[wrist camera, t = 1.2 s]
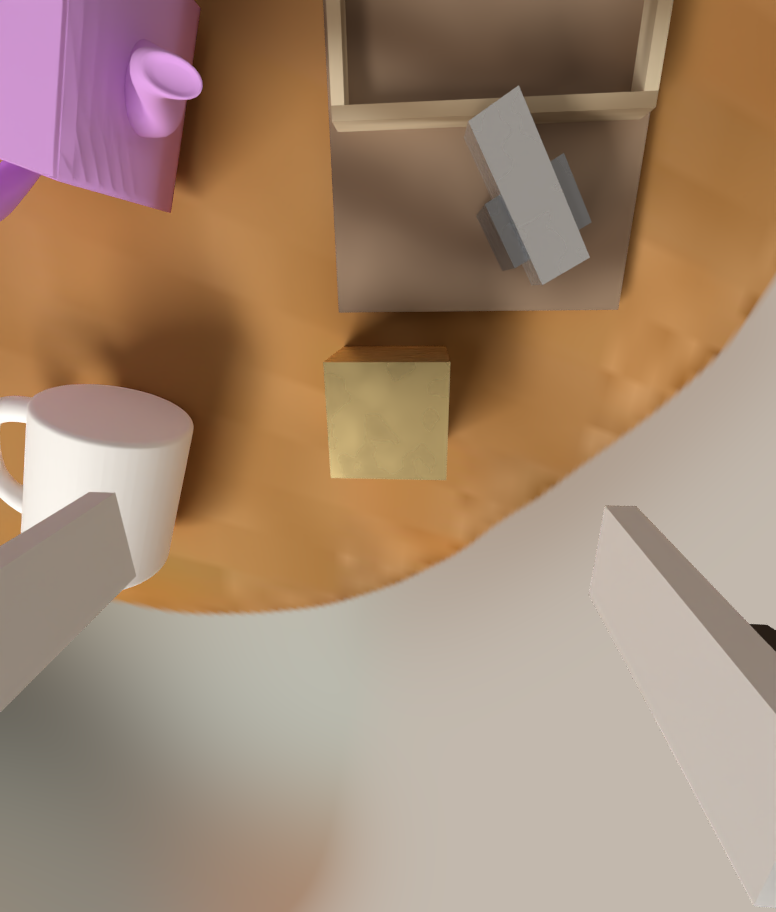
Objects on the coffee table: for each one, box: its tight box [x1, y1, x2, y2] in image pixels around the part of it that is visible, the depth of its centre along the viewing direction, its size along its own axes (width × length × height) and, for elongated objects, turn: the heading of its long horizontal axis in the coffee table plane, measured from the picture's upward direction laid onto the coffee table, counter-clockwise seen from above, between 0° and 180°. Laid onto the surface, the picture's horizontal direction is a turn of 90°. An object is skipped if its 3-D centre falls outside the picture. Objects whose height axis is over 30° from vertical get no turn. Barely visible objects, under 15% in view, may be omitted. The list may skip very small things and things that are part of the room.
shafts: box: [464, 85, 592, 285], centre depth 18 cm, size 22×6×4 cm, turn 1°
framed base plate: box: [323, 0, 674, 312], centre depth 20 cm, size 23×15×3 cm, turn 1°
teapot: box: [0, 0, 203, 221], centre depth 18 cm, size 15×13×11 cm
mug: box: [0, 384, 194, 589], centre depth 27 cm, size 12×10×8 cm
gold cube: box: [323, 346, 451, 480], centre depth 25 cm, size 6×6×6 cm
